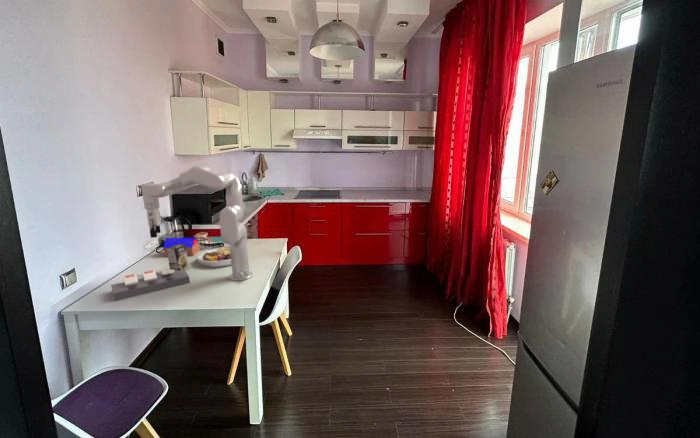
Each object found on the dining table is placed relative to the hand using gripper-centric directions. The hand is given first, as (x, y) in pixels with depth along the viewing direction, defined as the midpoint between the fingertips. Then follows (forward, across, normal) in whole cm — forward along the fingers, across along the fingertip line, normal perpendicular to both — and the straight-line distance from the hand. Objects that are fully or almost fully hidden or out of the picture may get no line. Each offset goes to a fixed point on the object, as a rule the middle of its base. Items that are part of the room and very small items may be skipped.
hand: (155, 235), depth 211 cm
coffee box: (+25, +5, -9) cm, 27 cm away
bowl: (+25, +17, -34) cm, 45 cm away
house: (+26, +43, -6) cm, 50 cm away
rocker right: (+20, -10, -6) cm, 23 cm away
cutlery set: (+26, +60, -25) cm, 70 cm away
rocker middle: (+20, -13, +3) cm, 24 cm away
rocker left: (+20, -16, +11) cm, 28 cm away
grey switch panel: (+25, -16, +2) cm, 30 cm away
